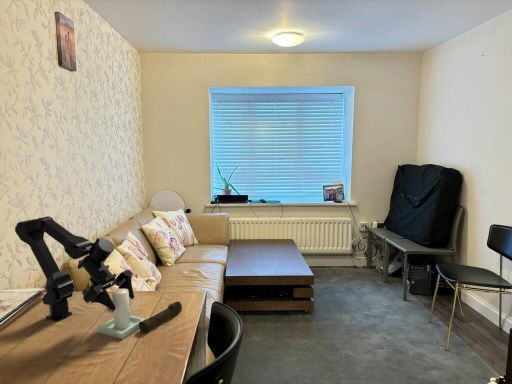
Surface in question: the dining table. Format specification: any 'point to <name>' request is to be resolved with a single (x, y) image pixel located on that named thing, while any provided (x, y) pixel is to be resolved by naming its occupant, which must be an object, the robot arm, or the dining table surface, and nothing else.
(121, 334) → the tray
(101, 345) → the dining table surface
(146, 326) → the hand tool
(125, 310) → the white rounded tapered cylinder
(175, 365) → the dining table surface
